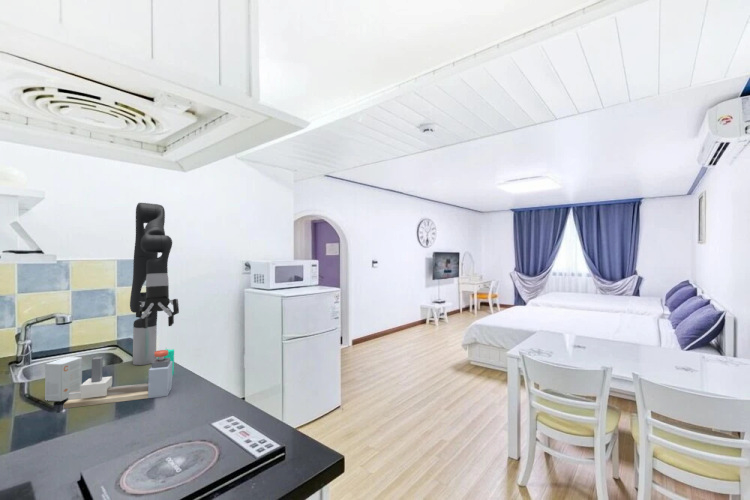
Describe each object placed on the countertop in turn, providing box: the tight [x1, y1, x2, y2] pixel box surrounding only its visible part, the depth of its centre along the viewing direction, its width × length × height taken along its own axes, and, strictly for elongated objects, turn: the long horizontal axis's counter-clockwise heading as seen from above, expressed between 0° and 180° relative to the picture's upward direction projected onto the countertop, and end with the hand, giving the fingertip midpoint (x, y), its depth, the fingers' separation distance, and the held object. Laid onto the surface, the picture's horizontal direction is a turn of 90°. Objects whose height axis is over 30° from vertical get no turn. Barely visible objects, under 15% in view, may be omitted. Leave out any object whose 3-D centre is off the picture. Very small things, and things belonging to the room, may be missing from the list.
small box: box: [44, 356, 83, 402], centre depth 123 cm, size 8×6×13 cm
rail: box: [62, 382, 149, 409], centre depth 122 cm, size 9×24×4 cm, turn 112°
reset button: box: [154, 349, 168, 361], centre depth 128 cm, size 4×4×3 cm
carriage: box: [80, 356, 113, 399], centre depth 121 cm, size 7×7×13 cm
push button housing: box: [147, 358, 173, 399], centre depth 128 cm, size 9×6×12 cm, turn 22°
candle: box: [157, 348, 175, 377], centre depth 145 cm, size 6×6×12 cm
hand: (158, 327), depth 133 cm, fingers open, 8 cm apart
